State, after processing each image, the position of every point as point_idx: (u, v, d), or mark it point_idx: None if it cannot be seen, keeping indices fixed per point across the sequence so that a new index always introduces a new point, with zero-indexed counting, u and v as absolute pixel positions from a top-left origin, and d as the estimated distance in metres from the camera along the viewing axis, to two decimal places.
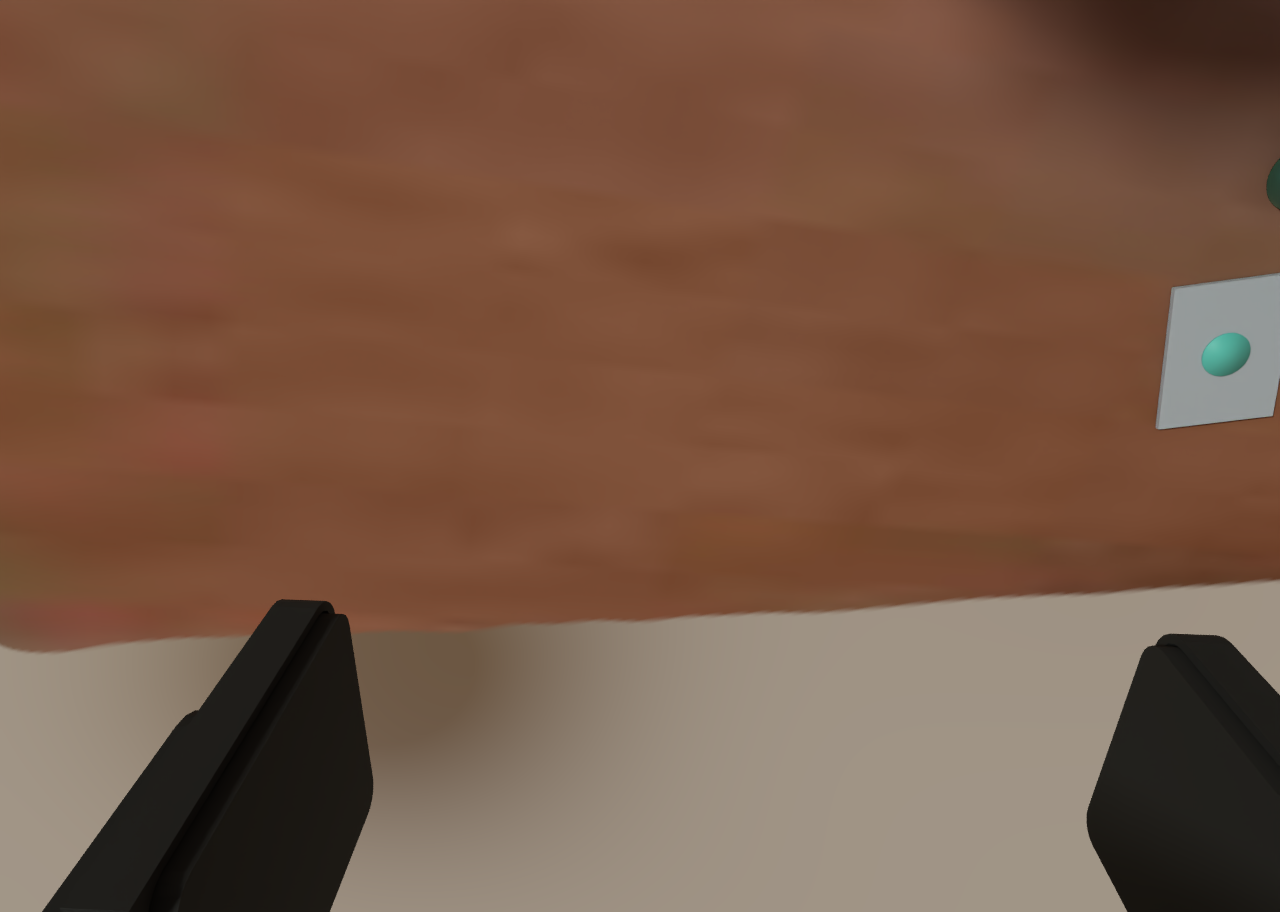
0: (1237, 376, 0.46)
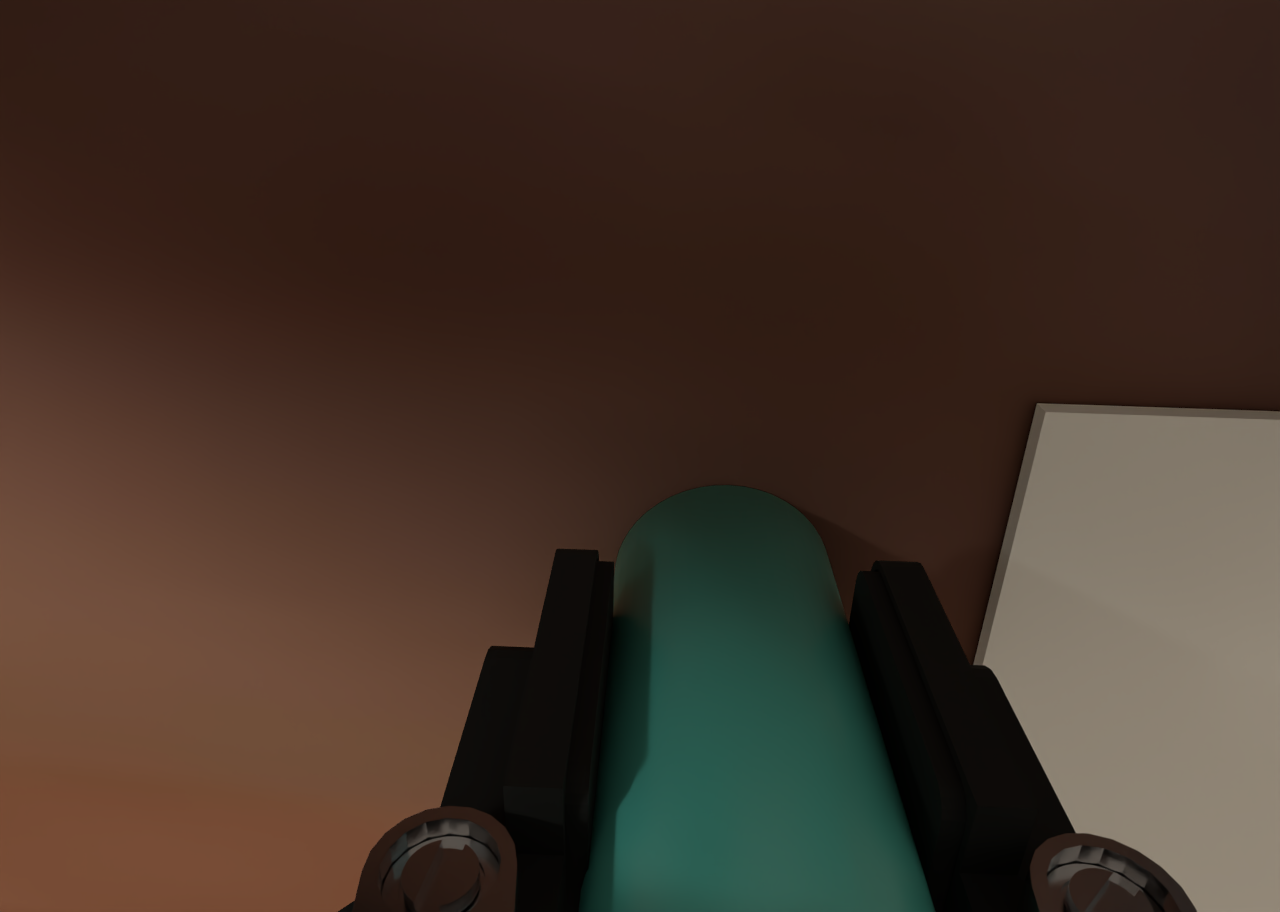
0: None
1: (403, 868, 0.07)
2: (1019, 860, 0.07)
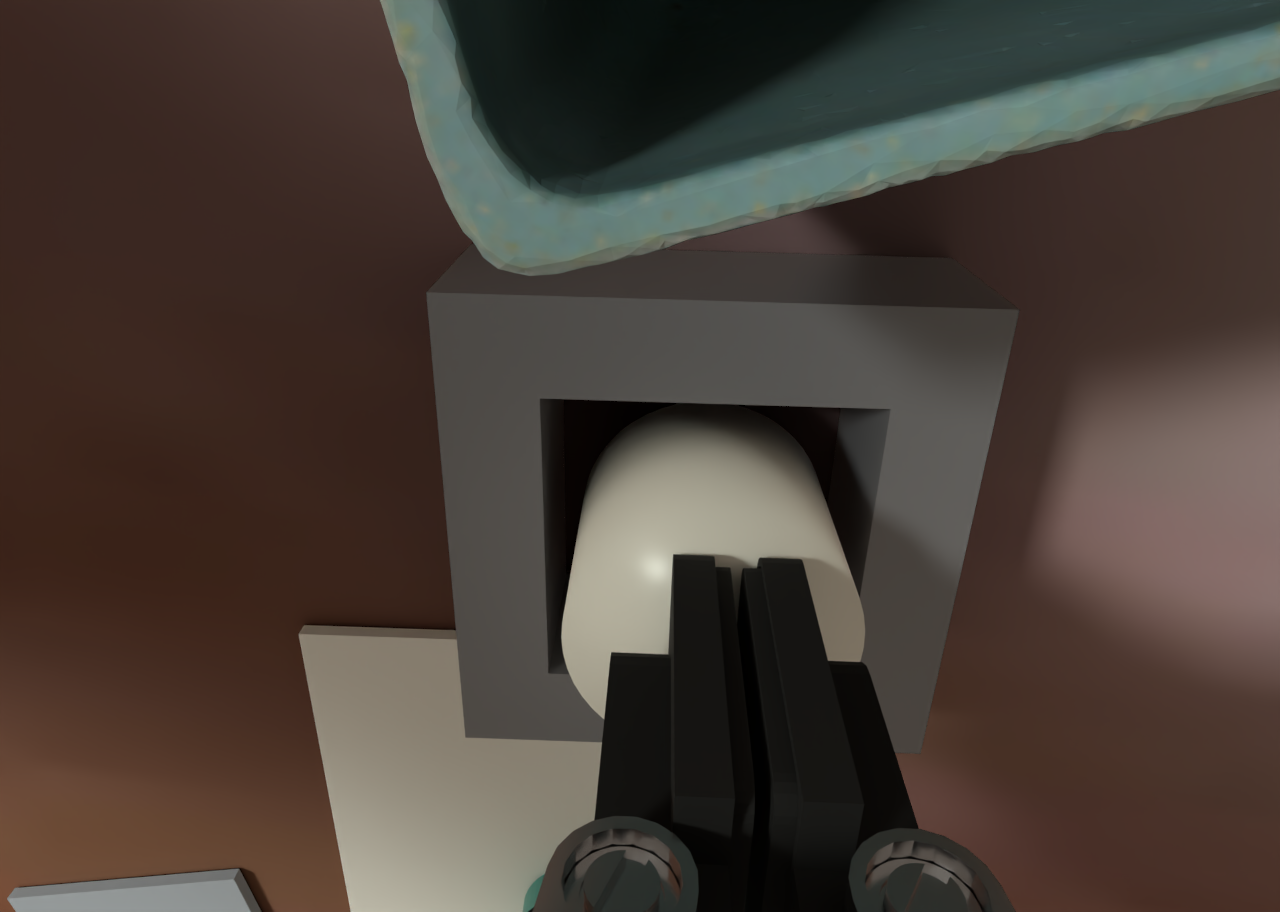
0: None
1: (586, 871, 0.07)
2: (850, 855, 0.07)
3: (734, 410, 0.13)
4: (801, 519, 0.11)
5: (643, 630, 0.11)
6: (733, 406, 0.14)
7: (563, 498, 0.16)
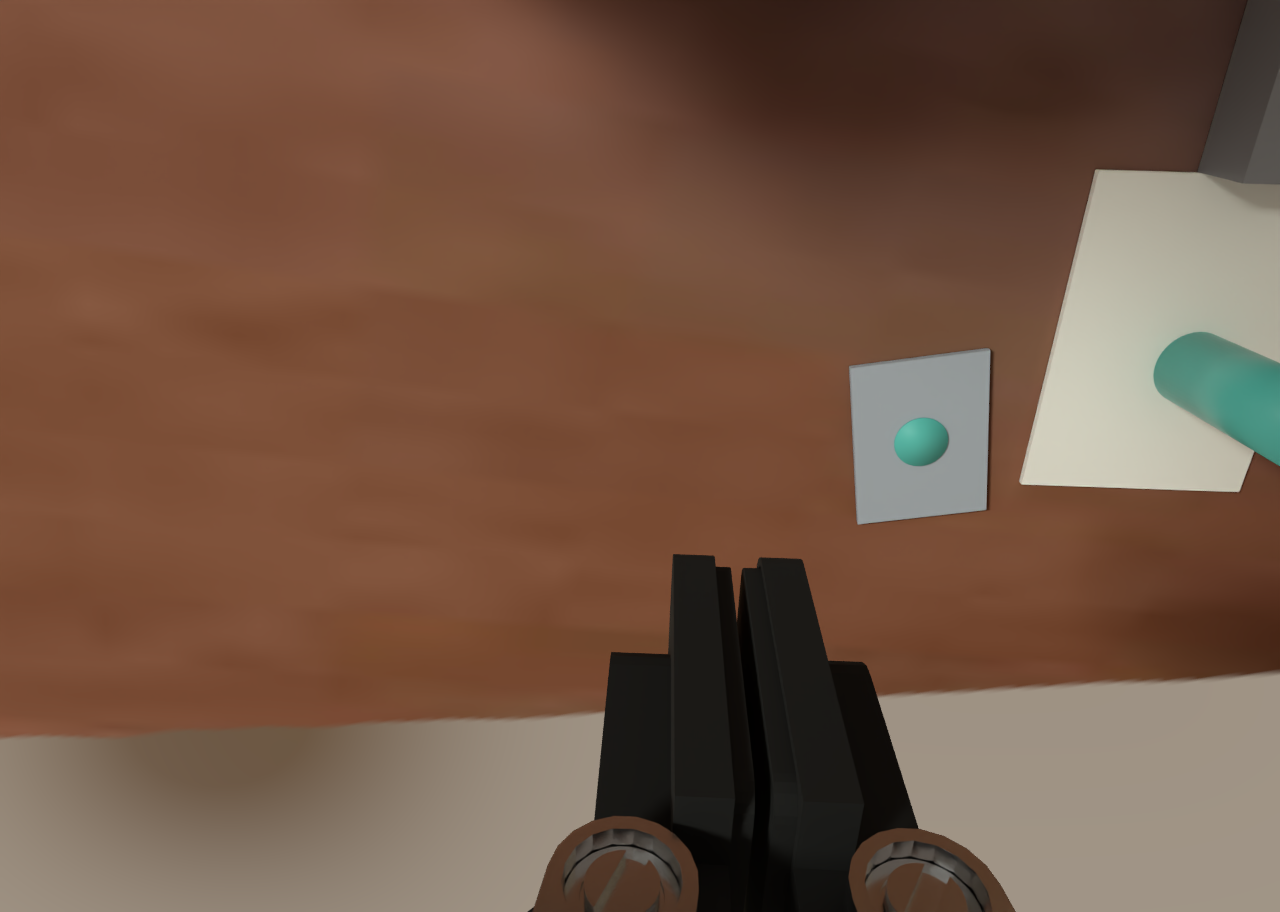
0: (938, 466, 0.40)
1: (586, 870, 0.07)
2: (850, 855, 0.07)
3: None
4: None
5: None
6: None
7: None
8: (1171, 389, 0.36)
